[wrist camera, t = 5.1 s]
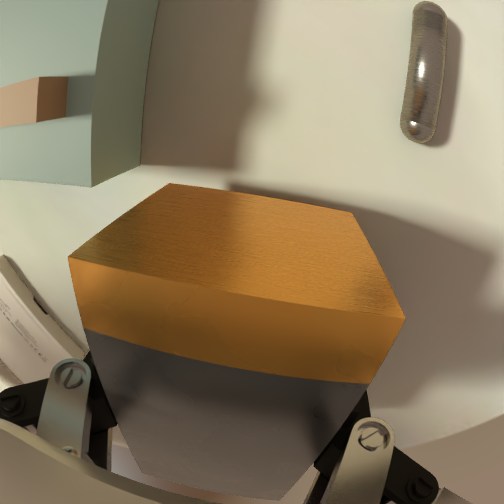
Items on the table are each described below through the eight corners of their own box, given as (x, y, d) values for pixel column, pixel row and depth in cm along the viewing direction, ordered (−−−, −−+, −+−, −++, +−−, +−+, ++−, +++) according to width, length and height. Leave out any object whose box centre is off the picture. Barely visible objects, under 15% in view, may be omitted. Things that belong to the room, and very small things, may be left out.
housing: (286, 409, 13) (279, 500, 9) (174, 387, 13) (142, 472, 9) (351, 212, 9) (405, 318, 4) (169, 183, 9) (67, 256, 4)
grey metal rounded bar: (423, 145, 8) (437, 150, 7) (391, 135, 8) (404, 138, 7) (439, 14, 6) (453, 6, 5) (408, 1, 6) (420, -9, 5)
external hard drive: (-17, 315, 18) (8, 249, 14) (39, 379, 21) (90, 347, 16) (-27, 325, 17) (-9, 261, 12) (30, 391, 19) (78, 365, 15)
